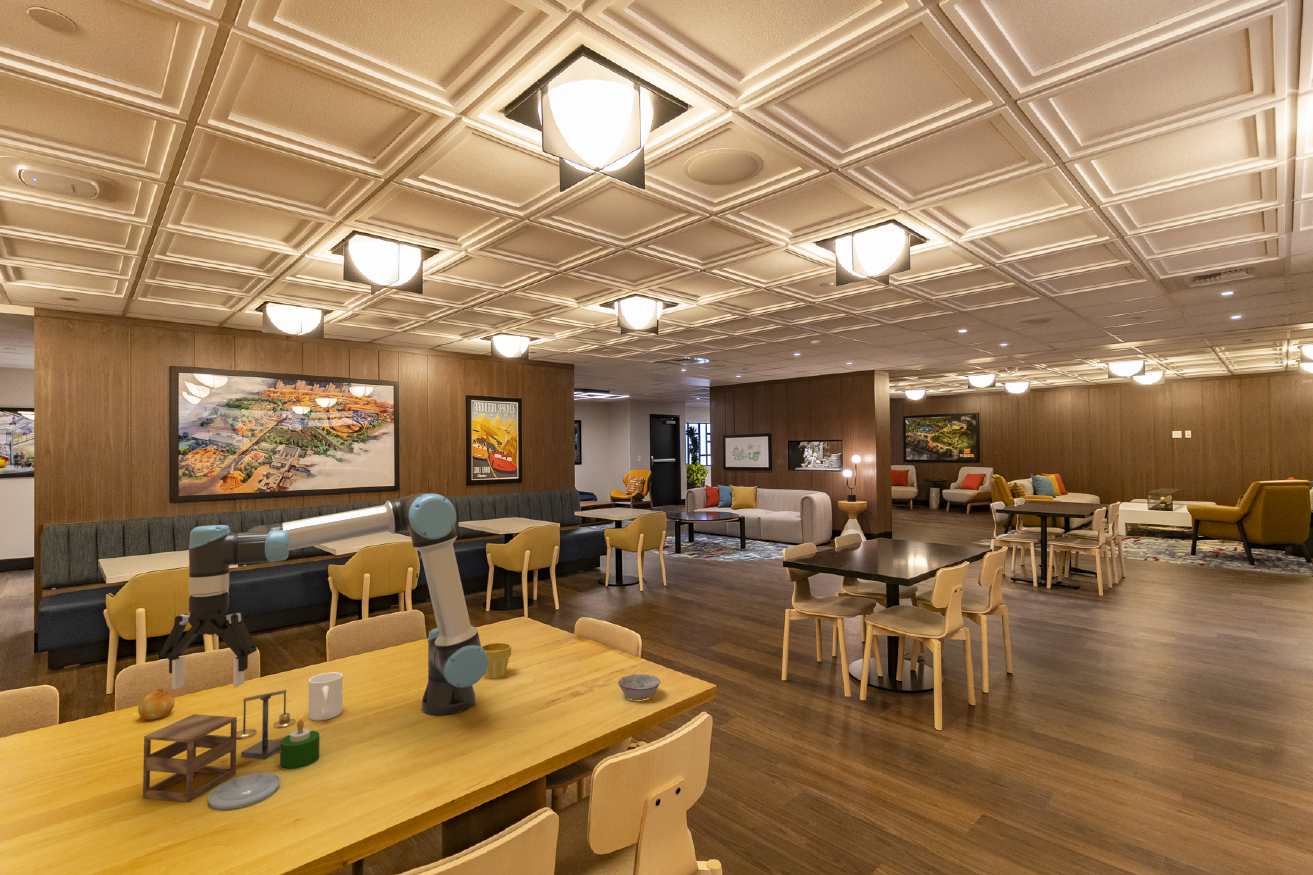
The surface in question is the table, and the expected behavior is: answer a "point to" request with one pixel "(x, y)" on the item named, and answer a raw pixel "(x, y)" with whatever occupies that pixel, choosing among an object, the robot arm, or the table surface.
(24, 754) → the table surface
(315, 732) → the candle
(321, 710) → the mug
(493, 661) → the plant pot
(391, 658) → the table surface
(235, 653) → the robot arm
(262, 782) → the dish
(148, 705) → the brown onion
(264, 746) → the balance
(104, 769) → the table surface
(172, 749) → the crate
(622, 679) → the bowl
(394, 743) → the table surface
